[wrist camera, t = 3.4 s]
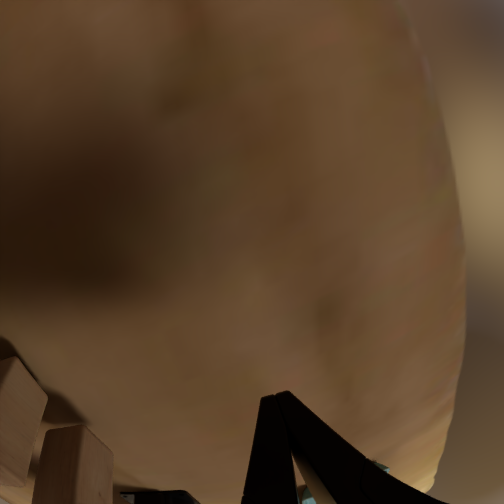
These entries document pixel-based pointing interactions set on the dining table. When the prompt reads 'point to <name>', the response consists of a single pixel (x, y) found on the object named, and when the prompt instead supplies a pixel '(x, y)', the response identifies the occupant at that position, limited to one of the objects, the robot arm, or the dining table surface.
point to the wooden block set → (48, 446)
